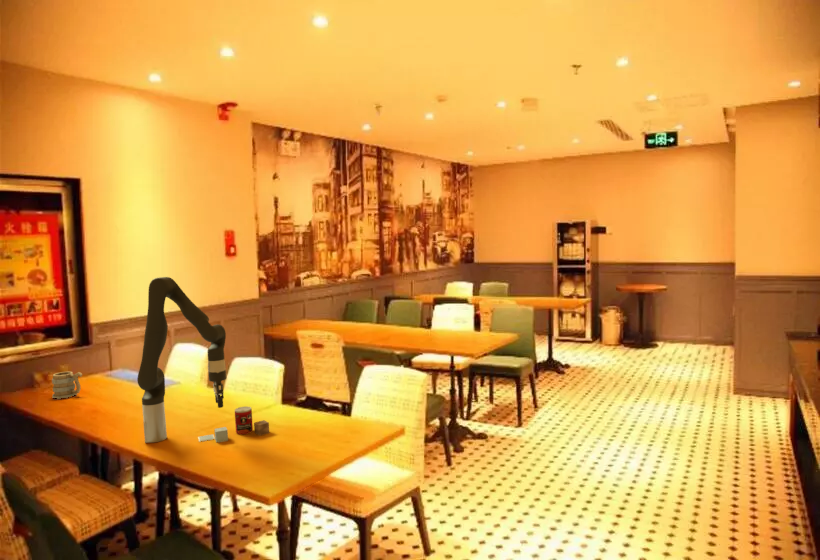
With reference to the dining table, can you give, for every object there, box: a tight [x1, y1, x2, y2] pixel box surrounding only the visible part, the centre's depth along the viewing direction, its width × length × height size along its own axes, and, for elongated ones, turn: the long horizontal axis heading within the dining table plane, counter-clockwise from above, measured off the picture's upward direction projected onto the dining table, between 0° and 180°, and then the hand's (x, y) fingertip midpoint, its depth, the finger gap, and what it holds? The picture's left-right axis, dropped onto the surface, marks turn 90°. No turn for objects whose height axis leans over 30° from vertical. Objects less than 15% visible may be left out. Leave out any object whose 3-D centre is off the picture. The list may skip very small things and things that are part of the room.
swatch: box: [197, 434, 215, 443], centre depth 268 cm, size 7×7×1 cm
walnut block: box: [253, 420, 270, 436], centre depth 272 cm, size 5×5×5 cm
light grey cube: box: [214, 426, 229, 443], centre depth 265 cm, size 5×5×5 cm
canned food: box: [234, 406, 254, 435], centre depth 274 cm, size 8×8×11 cm
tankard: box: [51, 371, 83, 400], centre depth 352 cm, size 20×13×15 cm, turn 73°
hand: (219, 405), depth 264 cm, fingers open, 8 cm apart
